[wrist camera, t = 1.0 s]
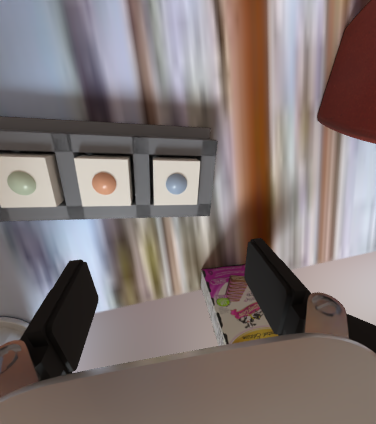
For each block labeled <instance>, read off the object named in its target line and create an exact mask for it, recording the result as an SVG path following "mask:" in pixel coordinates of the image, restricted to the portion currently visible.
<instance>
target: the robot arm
mask: <svg viewBox="0 0 376 424" xmlns="http://www.w3.org/2000/svg"><path fill="white" fill-rule="evenodd" d="M244 278H245V281H246V283H247V285H248V287H249V289H250V290H251V292H252V294H253V296H254V298H255V300H256V301H257V303H258V305H259V307H260V309H261V311H262V312H263V314H264V316H265V318H266V320H267V322H268V323H269V325H270V327H271V329H272V331H273V332H274V334H276V335H277V334H278V336H275V337H268V338H262V339H256V340H250V341H244V342H239V343H233V344H227V345H222V346H216V347H211V348H205V349H199V350H194V351H188V352H183V353H177V354H171V355H166V356H160V357H156V358H150V359H144V360H139V361H134V362H128V363H123V364H117V365H112V366H107V367H101V368H96V369H91V370H87V371H82V372H77V373H72V372H73V371H75V370H76V369H77V366H78V363H79V360H80V357H81V354H82V351H83V348H84V345H85V341H86V338H87V335H88V332H89V329H90V326H91V323H92V320H93V317H94V314H95V310H96V307H97V304H98V295H97V292H96V289H95V286H94V283H93V280H92V277H91V274H90V271H89V268H88V265H87V263H86V262H83V260H74V261H69V263H68V264H67V266H66V267H65V269H64V271H63V272H62V274H61V276H60V277H59V279H58V280H57V282H56V284H55V285H54V287H53V288H52V289H51V290H50V292H49V293H48V295H47V296H46V298H45V300H44V301H43V303H42V304H41V306H40V308H39V309H38V311H37V312H36V314H35V316H34V317H33V319H32V321H31V322H30V324H29V323H27V322H25V321H22V320H19V319H16V318H10V317H0V424H376V326H375V325H373V324H370V323H368V322H365V321H363V320H360V319H358V318H356V317H353V316H351V315H349V314H346V311H345V308H344V307H343V305H342V304H341V303H340V302H339V301H337V300H336V299H335V298H333V297H332V296H329V295H327V294H324V293H312V294H311V293H310V292H309V290H308V289H307V288H306V287H305V286H304V285H303V284H302V283H301V281H300V280H299V279H298V278H297V277H296V276H295V275H294V273H293V272H292V271H291V270H290V269H289V268H288V267H287V266H286V264H285V263H284V262H283V261H282V260H281V259H279V257H278V256H277V255H276V254H275V253H274V252H273V251H272V249H271V248H270V247H269V246H268V245H267V244H266V243H265V241H264V240H263V239H262V238H257V239H251V241H250V242H248V247H247V256H246V265H245V274H244Z"/></svg>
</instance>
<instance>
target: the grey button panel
mask: <svg viewBox="0 0 376 424" xmlns="http://www.w3.org/2000/svg"><path fill="white" fill-rule="evenodd" d="M209 138H210V128H200V127H182V126H164V125H146V124H128V123H110V122H92V121H74V120H56V119H38V118H20V117H2V116H0V153H36V154H55V155H56V160H57V165H58V169H59V174H60V178H61V183H62V188H63V192H64V197H65V200H64V201H63V202H62V203H61V204H59V205H58V206H57V207H19V208H1V206H0V221H33V220H71V219H109V218H147V217H185V216H210V207H211V198H212V188H213V179H214V169H215V160H216V150H217V141H216V140H212V139H209ZM80 155H109V156H130V160H131V175H132V190H133V200H132V204H131V206H83V207H82V201H81V196H80V190H79V185H78V179H77V174H76V168H75V162H74V158H76V157H78V156H80ZM153 157H181V158H196V159H198V160H199V161H200V172H199V186H198V199H197V205H154V187H153Z"/></svg>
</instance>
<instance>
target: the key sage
mask: <svg viewBox="0 0 376 424" xmlns="http://www.w3.org/2000/svg"><path fill="white" fill-rule="evenodd" d="M64 200H65V197H64V192H63V188H62V183H61V178H60V174H59V169H58V165H57V160H56V155H55V154H36V153H0V206H1V208H19V207H57V206H58V205H59V204H61V203H62V202H63V201H64Z"/></svg>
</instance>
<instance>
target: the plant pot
mask: <svg viewBox="0 0 376 424" xmlns="http://www.w3.org/2000/svg"><path fill="white" fill-rule="evenodd" d="M317 119H318V121H319V122H320V123H321V124H323V125H325V126H326V127H328V128H330V129H332V130H335V131H337V132H339V133H342V134H344V135H347V136H350V137H353V138H357V139H360V140H363V141H367V142H371V143H375V144H376V0H371V1H370V2H369V3H368V4H367V5H366V6H365V7H364V8H363V9H362V10H361V11H360V12H359V13H358V15H357V16H356V17H355V18H354V19H353V20H352V21H351V23H350V24H349V25H348V26H347V28H346V29H345V32H344V35H343V37H342V41H341V44H340V47H339V50H338V53H337V56H336V59H335V63H334V66H333V69H332V72H331V75H330V78H329V81H328V84H327V88H326V91H325V94H324V97H323V100H322V103H321V106H320V109H319V113H318V117H317Z"/></svg>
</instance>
